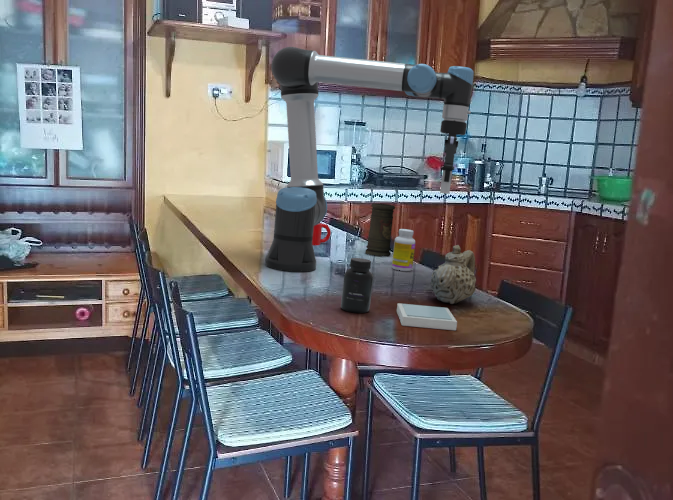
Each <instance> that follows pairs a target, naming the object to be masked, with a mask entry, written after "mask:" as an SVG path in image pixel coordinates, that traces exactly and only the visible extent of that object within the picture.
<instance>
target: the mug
mask: <svg viewBox="0 0 673 500" xmlns="http://www.w3.org/2000/svg"><path fill="white" fill-rule="evenodd" d="M322 229H325V230H326V235H325V237H324V238H322V231H323V230H322ZM331 234H332V232H331V228H330V226H329V225H328V224H325V223H322V222H320V223H319V224H317V225H316V226H314V229H313V239H312V245H313V246H320V245H321V243H326V242H328V241H329V239H330V238H331Z"/></svg>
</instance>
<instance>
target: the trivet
mask: <svg viewBox="0 0 673 500" xmlns="http://www.w3.org/2000/svg"><path fill="white" fill-rule="evenodd" d="M396 305H397V307H396V314H397V317H398V318H399V321H400V324H401V326H403V327H413V328H414V327H417V328H425V329H436V330H437V329H438V330H445V331H446V330H448V331H457V327H458V321H457V320H456V317H454V315H453V314H452V312H451V311H450V309H449V308H448V307H441V306H431V305H421V304H412V303H411V304H410V303H409V304H408V303H400V302H399V303H397V304H396Z"/></svg>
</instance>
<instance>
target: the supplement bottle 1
mask: <svg viewBox="0 0 673 500" xmlns="http://www.w3.org/2000/svg"><path fill="white" fill-rule="evenodd" d="M371 265H372V261H371V260H370V259H367V258H361V257H352V258H351V257H350V262H349V267H350V268H348V269H346V271H345V272H344V277H343V283H342V293H341V299H340V308H341V309H342V310H343V311H346V312H348V313H354V314H365V313H368V312H369V311H370V307H371V299H372V293H373V291H372V290H373V284H374V275H373V272H371V271H370V270H371Z"/></svg>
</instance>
